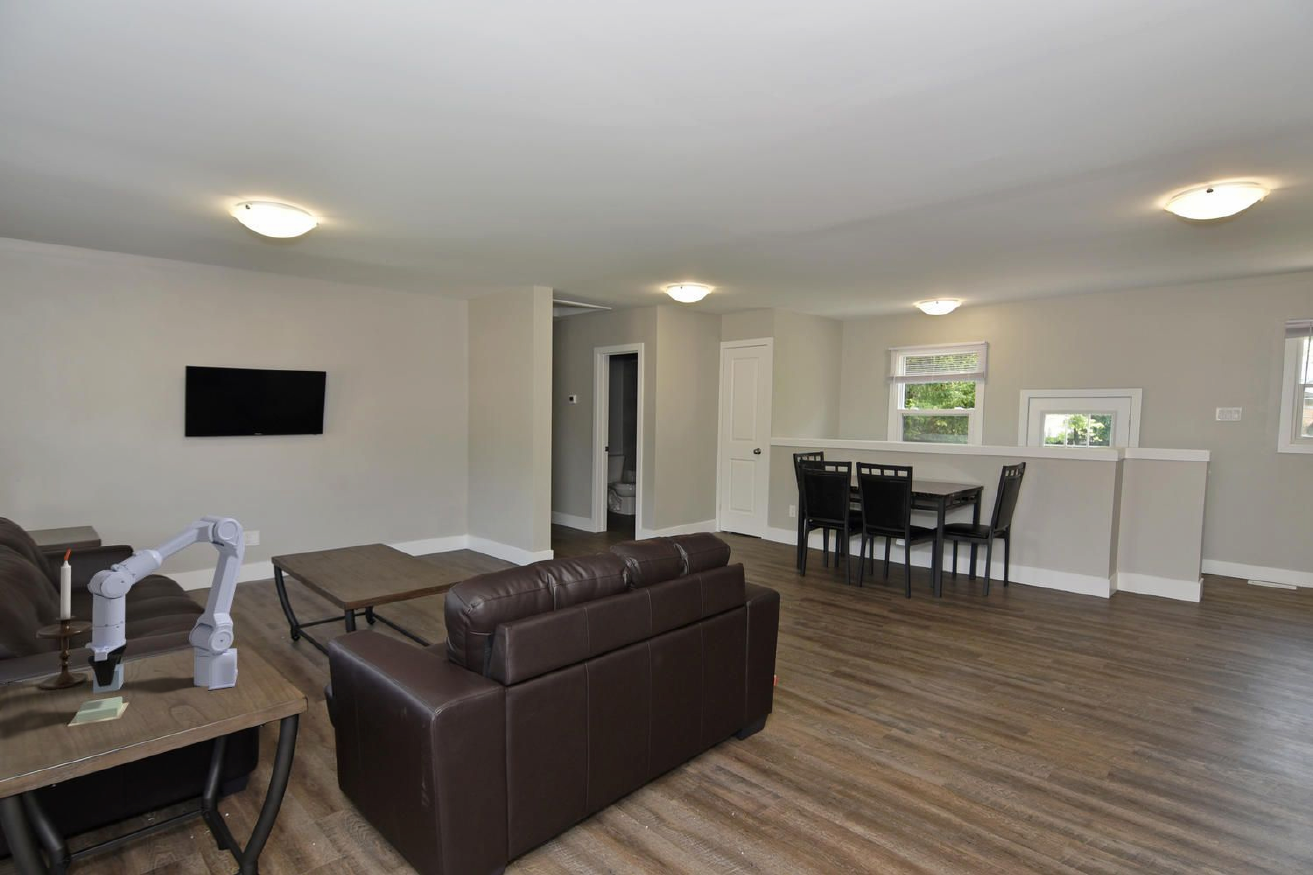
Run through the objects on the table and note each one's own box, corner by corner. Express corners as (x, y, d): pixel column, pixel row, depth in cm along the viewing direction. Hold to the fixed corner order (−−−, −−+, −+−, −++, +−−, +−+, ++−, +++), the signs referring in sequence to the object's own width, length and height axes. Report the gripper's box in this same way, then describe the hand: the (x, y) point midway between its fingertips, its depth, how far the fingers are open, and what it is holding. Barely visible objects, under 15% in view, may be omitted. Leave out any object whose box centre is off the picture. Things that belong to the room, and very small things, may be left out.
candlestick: (98, 672, 174) (99, 543, 174) (84, 687, 165) (86, 551, 164) (45, 678, 170) (46, 546, 169) (28, 694, 160) (29, 554, 159)
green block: (122, 704, 153) (122, 696, 153) (117, 716, 147) (117, 707, 147) (83, 710, 149) (83, 702, 149) (76, 723, 143) (76, 714, 143)
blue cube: (123, 682, 152) (123, 663, 152) (118, 689, 148) (119, 670, 148) (98, 685, 150) (98, 666, 150) (93, 693, 146) (93, 673, 146)
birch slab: (128, 710, 154) (128, 702, 154) (119, 726, 147) (119, 717, 146) (79, 717, 150) (79, 709, 150) (67, 734, 142) (67, 725, 142)
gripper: (94, 616, 153) (93, 673, 153) (77, 634, 140) (75, 696, 140) (132, 613, 156) (131, 668, 156) (118, 630, 144) (117, 690, 144)
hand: (108, 681), depth 149 cm, fingers closed on blue cube, 4 cm apart
